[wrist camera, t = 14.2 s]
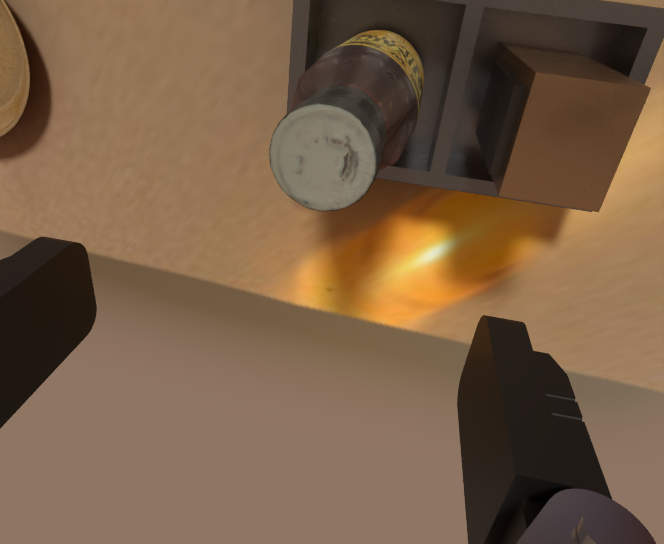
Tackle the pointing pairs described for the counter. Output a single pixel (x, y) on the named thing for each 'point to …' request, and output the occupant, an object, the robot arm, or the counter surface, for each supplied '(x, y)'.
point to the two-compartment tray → (506, 89)
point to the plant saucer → (12, 71)
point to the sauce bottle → (348, 120)
